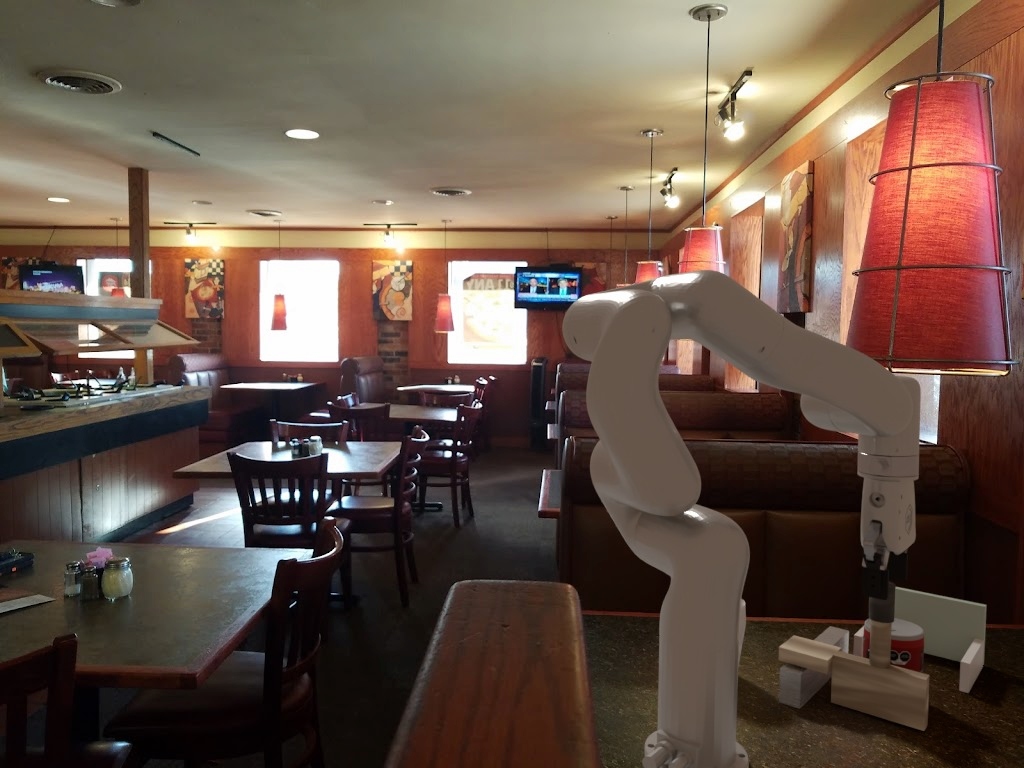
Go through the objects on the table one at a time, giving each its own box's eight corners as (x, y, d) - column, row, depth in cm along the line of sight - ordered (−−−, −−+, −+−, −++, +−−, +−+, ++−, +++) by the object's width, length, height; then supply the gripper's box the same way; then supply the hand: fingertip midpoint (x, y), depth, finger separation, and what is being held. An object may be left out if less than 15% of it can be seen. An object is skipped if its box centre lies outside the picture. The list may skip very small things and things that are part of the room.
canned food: (849, 693, 111) (852, 621, 111) (887, 683, 115) (889, 613, 114) (895, 716, 104) (898, 640, 104) (933, 705, 108) (936, 631, 107)
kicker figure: (920, 737, 98) (926, 598, 97) (777, 691, 110) (781, 568, 109) (930, 719, 103) (936, 587, 102) (792, 678, 115) (796, 560, 114)
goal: (968, 693, 112) (971, 627, 111) (853, 661, 122) (855, 602, 122) (983, 665, 122) (986, 604, 121) (875, 638, 132) (877, 583, 132)
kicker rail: (799, 708, 106) (800, 674, 106) (778, 702, 108) (780, 668, 108) (847, 660, 123) (849, 630, 123) (829, 655, 125) (830, 626, 125)
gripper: (901, 478, 93) (898, 612, 94) (932, 460, 106) (929, 578, 108) (838, 471, 98) (836, 598, 99) (876, 455, 111) (873, 568, 112)
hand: (884, 587), depth 103 cm, fingers open, 9 cm apart
